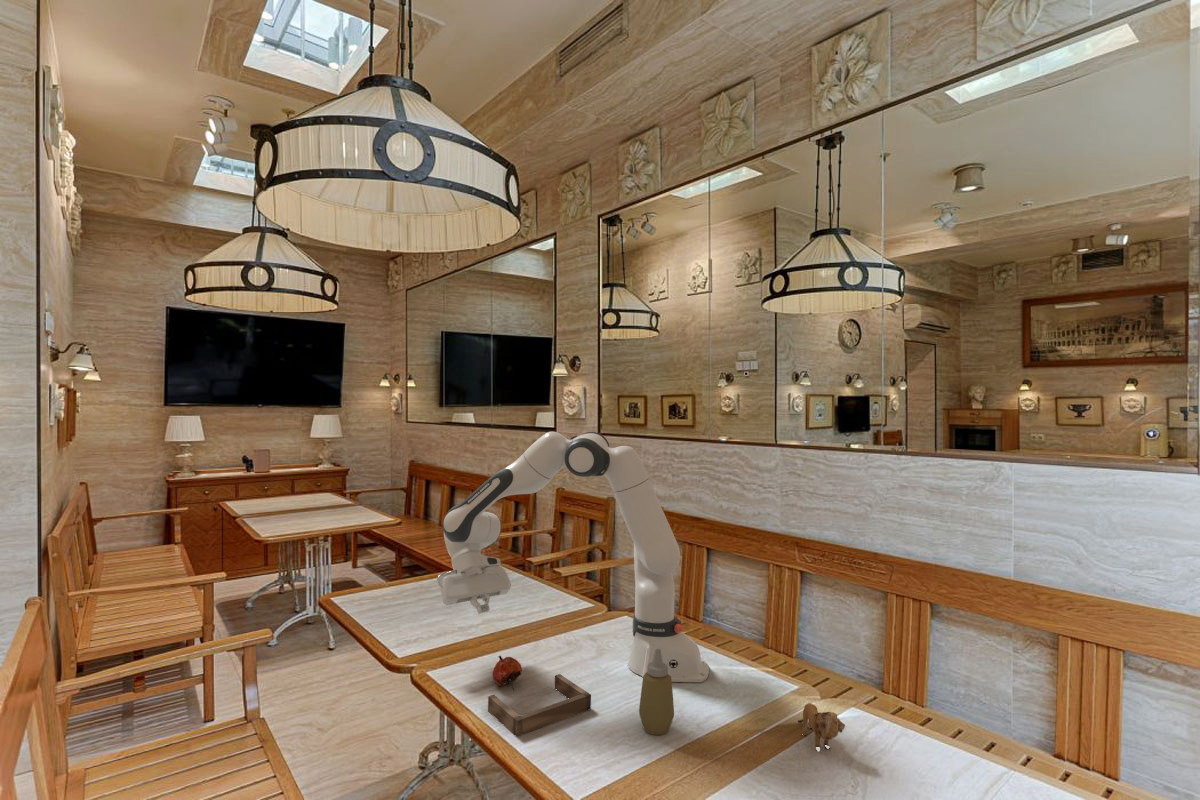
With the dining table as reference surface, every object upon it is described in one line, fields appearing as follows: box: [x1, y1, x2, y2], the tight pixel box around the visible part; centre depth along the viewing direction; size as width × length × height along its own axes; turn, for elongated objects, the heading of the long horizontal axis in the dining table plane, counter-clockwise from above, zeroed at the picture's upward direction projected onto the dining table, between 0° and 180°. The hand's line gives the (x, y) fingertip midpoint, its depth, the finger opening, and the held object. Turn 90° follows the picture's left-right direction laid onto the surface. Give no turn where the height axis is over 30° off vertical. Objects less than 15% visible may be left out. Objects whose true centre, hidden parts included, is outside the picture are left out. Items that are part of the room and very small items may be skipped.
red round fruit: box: [492, 655, 523, 691], centre depth 156 cm, size 7×7×10 cm
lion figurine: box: [797, 702, 846, 748], centre depth 134 cm, size 15×5×9 cm, turn 15°
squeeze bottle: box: [638, 649, 675, 736], centre depth 137 cm, size 8×8×18 cm
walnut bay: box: [487, 673, 592, 737], centre depth 144 cm, size 14×20×4 cm, turn 128°
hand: (484, 611), depth 167 cm, fingers closed
